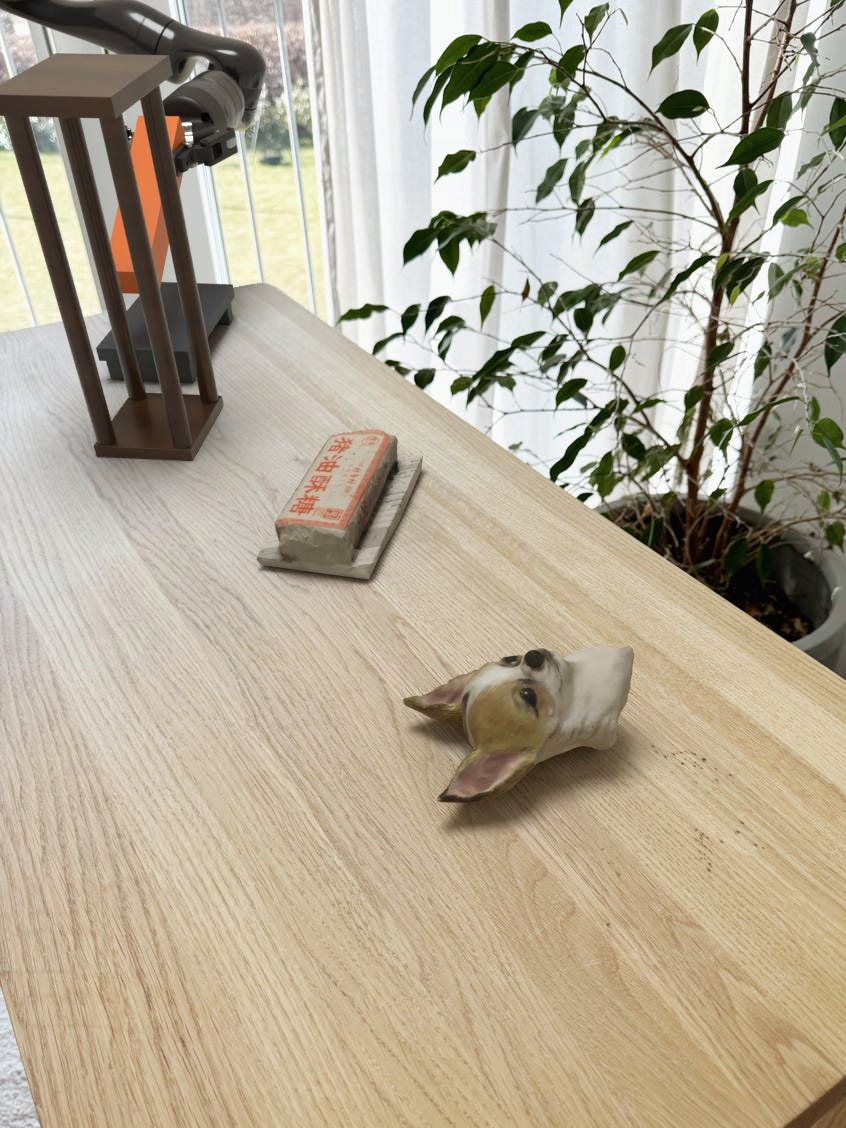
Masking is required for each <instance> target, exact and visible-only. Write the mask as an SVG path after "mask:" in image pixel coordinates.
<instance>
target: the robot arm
mask: <svg viewBox="0 0 846 1128" xmlns="http://www.w3.org/2000/svg"><path fill="white" fill-rule="evenodd" d="M0 10H1V11H3V12H5V13H6V12H7V13H8V14H10V15H13V16H16V17H18V18H21V19H23V20H27V21H29V22H32V23H34V24H36V25H40V26H42V27H44V28H47V29H50V30H53V31H55V32H58V33H61V34H63V35H67V36H69V37H72V38H75V39H77V40H81V41H84V42H87V43H88V44H92V45H94V46H96V47H99V48H101V49H104V50H107V51H109V52H110V53H112V54H125V55H169V57H170V63H171V69H172V74H173V75H172V76H170V77H169V78H168V79H166V80H165V81H164V82H168V83H170V84H171V85H176V86H178V87H177V88H175V90H173V91H172V92H171V93H170V94H169V95H167V96H166V97H165V98H164V99H162V102H163V107H164V112H165V116H179V118H180V120H181V123H182V125H183V128H184V130H185V139H184V140H183V141H182V145H179V146H178V147H177V148H176V149H175V150H174V151H173V152H172V155H173V160H174V165H175V170H176V176H177V177H180V176H181V175H182V174H184V173H186V172H188V171H189V170H190V169H194V168H197V167H198V166H201V165H203V166H204V167H210V168H211V167H214V166H216V165H217V164H219V163H221V162H223V161H225V160H227V159H228V158H231V157H232V156H235V155H236V154H237V153H238V152H239V150H238V144H237V138H236V137H237V136H236V132H245V131H247V130H248V129H249V128H250V127H251V125H252V123H253V122H254V118H255V116H256V112H257V108H258V105H259V101H260V98H261V94H262V90H263V86H264V84H265V80H266V75H267V71H268V69H267V63H266V60H265V58H264V56H263V55H262V53H261V52H260V50H258V49H257V47H255V46H253V45H252V44H251V43H248V42H247V41H245V40H241V39H237V38H233V37H232V38H231V37H228V36H223V35H222V36H221V35H216V34H213V33H209V32H205V31H202V30H199V29H196V28H193V27H190V26H188V25H186V24H183V23H181V22H180V21H178V20H176V19H175V18H172V17H170V16H169V15H167V14H165V13H163V12H162V11H160V10H157V9H156V8H154V7H153V6H151V5H148V4H146V3H144V2H142V1H139V0H0ZM200 58H203V59H205V60H207V61H208V64H207V65H208V66H207V69H206V70H204V71H201V72H200V73H198V74H197V75H195V76H194V77H193V78H192V79H190V80H189V78H190V77H191V75H192V73H193V71H194V69H195V67H196V65H197V63H198V61H200V60H199V59H200ZM187 80H189V81H187ZM186 81H187V82H186ZM125 129H126V133H127V138H128V143H129V147H130V150H131V146H132V141H133V137H134V132H135V131H132V128H131V127H128V125H126V124H125ZM130 152H131V151H130Z"/></svg>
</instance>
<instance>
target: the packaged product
mask: <svg viewBox="0 0 846 1128" xmlns="http://www.w3.org/2000/svg"><path fill="white" fill-rule="evenodd" d="M398 441H399V440H398V438H397V435H394V434H392V433H387V432H386V431H384V430H382V429H378V428H368V429H365V430H357V431H356V430H355V431H350V432H348V431H347V432H341V433H337V434H331V435H330V436H329V437H328V438H327V440H326V441H325V443H324V444H323V445H322V447H321V449H320V450H319V452H318V454H317V455H316V457H314V460H313V461H312V463H311V465H310V467H309V468H308V469H307V471H306V472H305V474H304V476H303V477H302V479H301V481H300V482H299V484H298V485H297V487H296V489H295V490H294V492H293V493H292V494H291V496H290V498H289V500H288V501H287V502H286V504H285V505H284V507H283V509H281V512H280V514H279V515H278V517H277V518H276V520H275V522H274V529H273V530H272V532H271V534H270V535H269V537H268V538H267V539H266V541H265V543H264V544H263V546H262V548H261V549H260V551H259V552H258V554H257V556H256V561H257V562H258V564H260V566H261V565H262V566H267V567H275V568H282V569H289V570H297V571H302V572H303V571H304V572H310V573H316V574H324V575H332V576H339V577H346V578H347V577H348V578H353V579H354V578H355V579H363V580H370V578H371V576H372V574H373V571H374V569H375V567H376V565H377V563H378V561H379V559H380V557H381V555H382V553H383V551H384V550H385V548H386V546H387V545H388V543H389V541H390V539H391V538H392V536H393V534H394V532H395V530H396V529H397V528H398V525H399V523H400V521H401V519H402V516H403V514H404V511H405V510H406V507H407V504H408V502H409V500H410V497H411V495H412V492H413V490H414V488H415V485H416V483H417V481H418V478H419V476H420V474H421V471H422V467H423V458H424V455H421V454H414V453H413V454H412V453H398Z"/></svg>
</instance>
